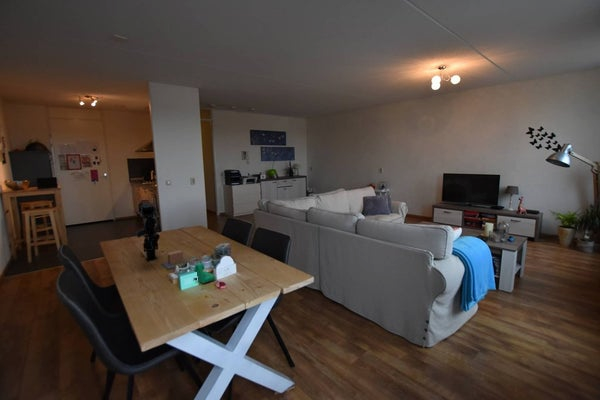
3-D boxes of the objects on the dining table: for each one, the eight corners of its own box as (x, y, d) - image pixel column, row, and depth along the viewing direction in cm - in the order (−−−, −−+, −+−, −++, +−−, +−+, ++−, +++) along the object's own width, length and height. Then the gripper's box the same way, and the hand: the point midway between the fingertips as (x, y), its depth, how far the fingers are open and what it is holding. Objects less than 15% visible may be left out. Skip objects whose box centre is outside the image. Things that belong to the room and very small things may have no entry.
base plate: (161, 264, 187) (161, 258, 186) (183, 258, 196) (182, 253, 195) (168, 270, 176) (167, 264, 176) (190, 264, 186) (190, 259, 185)
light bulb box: (224, 263, 185) (223, 248, 184) (215, 263, 187) (214, 247, 185) (231, 258, 196) (230, 243, 194) (222, 257, 197) (221, 242, 195)
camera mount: (216, 280, 161) (214, 263, 159) (203, 285, 155) (202, 267, 154) (204, 274, 169) (203, 258, 167) (192, 279, 163) (191, 262, 162)
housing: (168, 263, 185) (167, 252, 184) (180, 260, 191) (179, 250, 189) (170, 265, 182) (169, 254, 181) (183, 262, 187) (182, 251, 186)
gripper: (132, 223, 184) (134, 246, 187) (138, 228, 170) (141, 253, 173) (150, 220, 191) (153, 243, 194) (158, 225, 177) (161, 249, 180)
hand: (151, 247), depth 185 cm, fingers open, 9 cm apart
